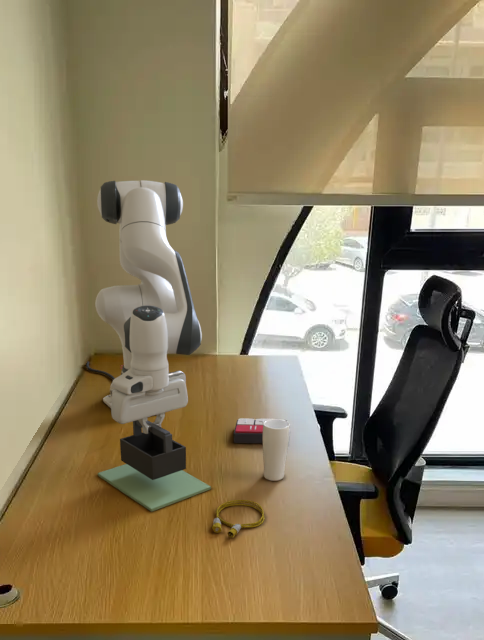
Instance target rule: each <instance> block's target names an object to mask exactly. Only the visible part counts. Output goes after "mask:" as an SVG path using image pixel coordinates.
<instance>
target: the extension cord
mask: <svg viewBox="0 0 484 640" xmlns="http://www.w3.org/2000/svg"><path fill="white" fill-rule="evenodd" d="M234 506H245V507H250V508H254V509H256V510H257V511H258V512H260V514H261V516H260V518H259V520H257V521H255V522H250V523H241V524H240V523H231V522H228V521H227V520H224V519H223V518H221V516H219V515H220V512H222V511H223V509H225V508H229V507H234ZM264 511H265V510H264V509H263V507H262V505H261V504H259V503H258V502H256V501H253V500H250V499H249V500H248V499H234V500H229V501H226V502H223V503H221V504H220V505H219V506H218V507H217V508H216V510H215V515H216V517H215V518H213V521H212V522H213V523H212V526H211V530H212V531H213V532H214V533H215V534H218V533H222V531H223V530H222V524H224V525H225V526H228V527H229V528H230V529H229V530H228V531H227V536H228V537H229V538H235V536H237V535H238V533H239V532H240V530H241V529H245V528H246V529H247V528H249V529H250V528H251V529H252V528H256V527H259V526H261V525H262V524H263V523H264V521H265V512H264Z"/></svg>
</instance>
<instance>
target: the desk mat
mask: <svg viewBox="0 0 484 640" xmlns="http://www.w3.org/2000/svg"><path fill="white" fill-rule="evenodd" d="M97 476H98V477H99V478H100V479H102V480H104V481H106V482H107V484H110V485H111V486H112V487H114V488H115V489H117V490H118V491H120V492H121V493H123V494H124V495H126V496H127V497H129V498H130V499H132V500H133V501H135V502H136V503H138V504H140V505H141V506H142V507H144V508H145V509H147V510H148V511H150V512H152V513H153V512H155V511H157V510H161V509H163V508H165V507H168V506H170V505H174V504H175V503H178V502H181V501H183V500H186V499H189V498H192V497H195V496H197V495H200V494H202V493H204V492H208V491H209V490H212V487H211V485H209V484H208V483H206V482H203V481H202V480H201V479H199V478H197V477H195V476H193V475H191V474H190V473H188V472H187V471H185V470H181V471H178V472H175V473H172V474H169V475H167V476H164V477H161V478H158V479H155V480H152V479H150V478H148V477H147V476H145V475H144V474H142V473H140V472H139V471H137V470H136V469H134V468H132V467H131V466H129V465H128V464H126V463H124V464H122V465H118V466H115V467H112V468H110V469H106V470H103V471H99V472H97Z"/></svg>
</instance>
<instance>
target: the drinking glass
mask: <svg viewBox="0 0 484 640" xmlns="http://www.w3.org/2000/svg"><path fill="white" fill-rule="evenodd" d="M269 419H270V420H267V421H265V422H264V423H263V443H262V457H263V460H262V461H263V477H264V478H265V479H266V480H268V481H272V482H278V481H281V480H283V479H284V477H285V470H286V469H285V468H286V463H287V456H288V450H289V445H290V444H289V443H290V433H291V432H290V431H291V429H290V428H291V425H290V424H291V423H289V421H288V420H287V421H285V420H286V419H285V420H281V419H280V418H269Z"/></svg>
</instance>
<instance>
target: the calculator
mask: <svg viewBox="0 0 484 640" xmlns="http://www.w3.org/2000/svg"><path fill="white" fill-rule="evenodd" d="M270 419H271V418H256V419H255V418H251V417H250V418H245V417H244V418H243V417H241V418H238V419H237V420H236V422H235V427H234V429H233V443H234V444H263V423H264V422H265V421H267V420H270ZM281 420H285V421H287V422H288V420H287V419H283V418H282V419H281Z"/></svg>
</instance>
